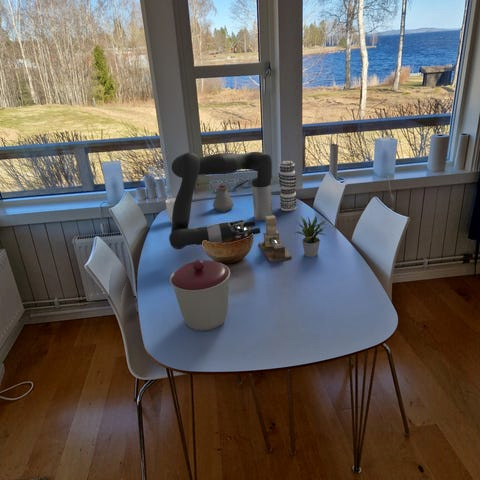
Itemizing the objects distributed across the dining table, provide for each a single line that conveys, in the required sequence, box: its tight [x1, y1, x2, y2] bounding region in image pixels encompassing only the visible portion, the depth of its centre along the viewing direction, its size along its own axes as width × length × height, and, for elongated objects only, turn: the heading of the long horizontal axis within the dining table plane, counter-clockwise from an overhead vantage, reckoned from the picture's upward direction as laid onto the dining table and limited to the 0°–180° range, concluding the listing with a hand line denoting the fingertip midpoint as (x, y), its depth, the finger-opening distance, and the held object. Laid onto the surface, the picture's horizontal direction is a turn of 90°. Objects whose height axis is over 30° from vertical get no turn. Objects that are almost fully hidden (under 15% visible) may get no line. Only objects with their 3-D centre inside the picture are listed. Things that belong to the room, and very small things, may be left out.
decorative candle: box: [277, 160, 298, 212], centre depth 210 cm, size 9×9×25 cm
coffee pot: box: [212, 179, 250, 212], centre depth 220 cm, size 21×12×15 cm, turn 97°
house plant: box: [294, 215, 330, 258], centre depth 159 cm, size 14×14×16 cm
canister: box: [169, 259, 231, 332], centre depth 123 cm, size 18×18×21 cm
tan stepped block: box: [263, 214, 280, 247], centre depth 168 cm, size 3×6×13 cm, turn 102°
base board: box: [258, 238, 293, 263], centre depth 167 cm, size 18×9×6 cm, turn 12°
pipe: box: [270, 237, 279, 246], centre depth 167 cm, size 16×2×2 cm, turn 12°
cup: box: [165, 197, 176, 224], centre depth 208 cm, size 9×9×12 cm
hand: (257, 226), depth 166 cm, fingers open, 8 cm apart
